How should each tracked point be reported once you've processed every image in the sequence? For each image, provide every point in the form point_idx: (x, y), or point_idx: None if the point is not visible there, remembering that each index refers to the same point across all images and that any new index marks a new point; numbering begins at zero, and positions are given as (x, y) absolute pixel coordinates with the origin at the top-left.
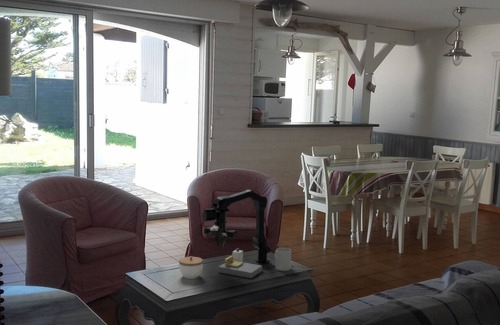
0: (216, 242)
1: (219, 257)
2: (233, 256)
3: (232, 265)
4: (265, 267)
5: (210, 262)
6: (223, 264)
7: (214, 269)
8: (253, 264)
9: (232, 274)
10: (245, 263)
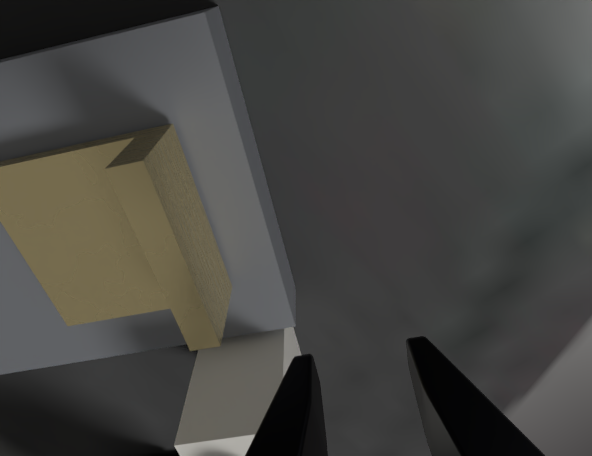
0: (499, 421)
1: (527, 377)
2: (266, 378)
3: (41, 156)
4: (36, 414)
5: (533, 226)
6: (234, 155)
7: (335, 59)
8: (11, 365)
9: (9, 57)
10: (89, 342)
